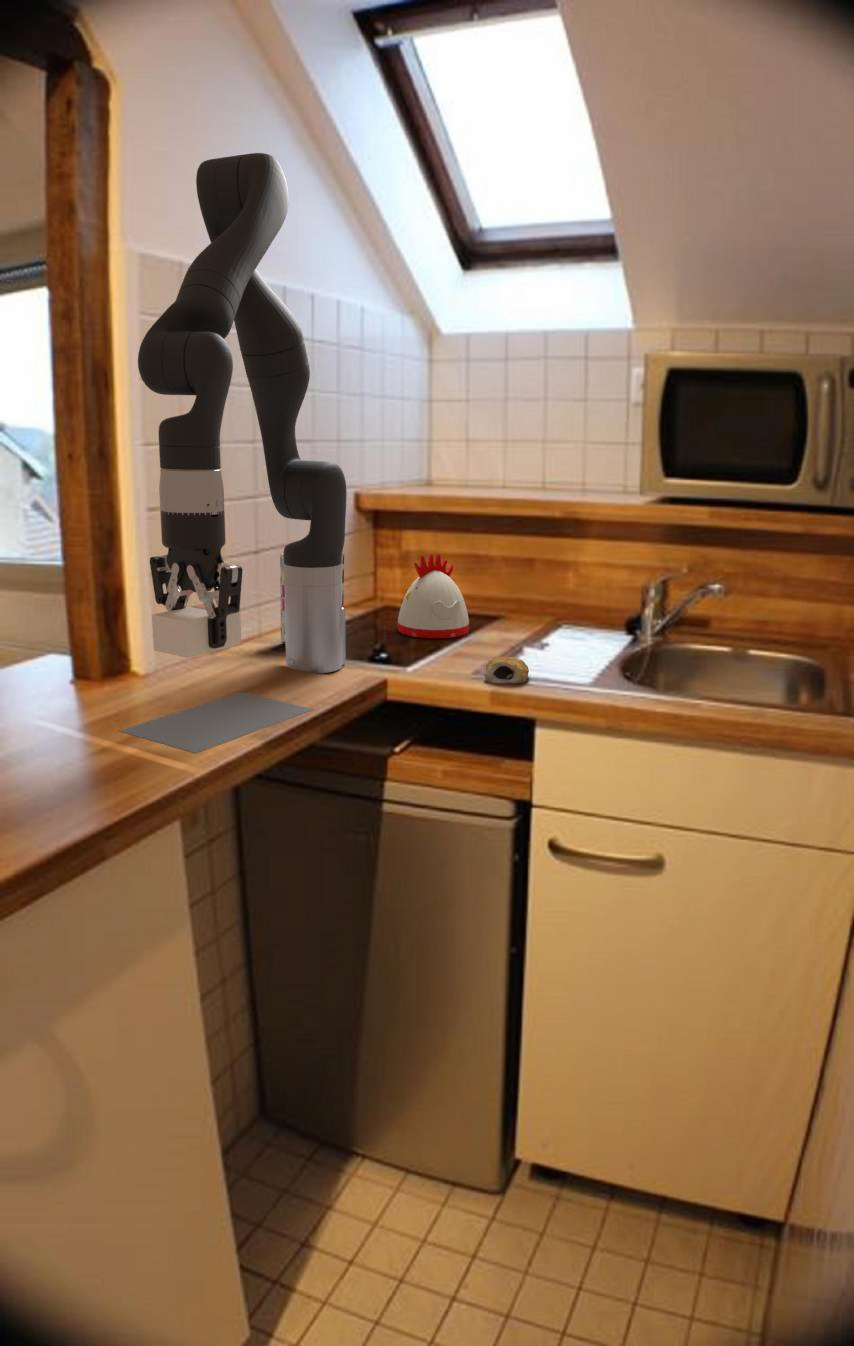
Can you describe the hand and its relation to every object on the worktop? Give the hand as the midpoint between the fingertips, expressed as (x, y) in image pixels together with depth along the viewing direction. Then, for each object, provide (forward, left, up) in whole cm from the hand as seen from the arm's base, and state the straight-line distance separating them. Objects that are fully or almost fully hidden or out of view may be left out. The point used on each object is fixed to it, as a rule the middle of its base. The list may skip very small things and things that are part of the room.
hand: (198, 642), depth 116 cm
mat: (-5, -2, -12) cm, 14 cm away
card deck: (0, 0, -1) cm, 1 cm away
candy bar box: (-49, -23, -13) cm, 56 cm away
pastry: (-49, +17, -13) cm, 54 cm away
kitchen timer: (-71, -11, -13) cm, 73 cm away
